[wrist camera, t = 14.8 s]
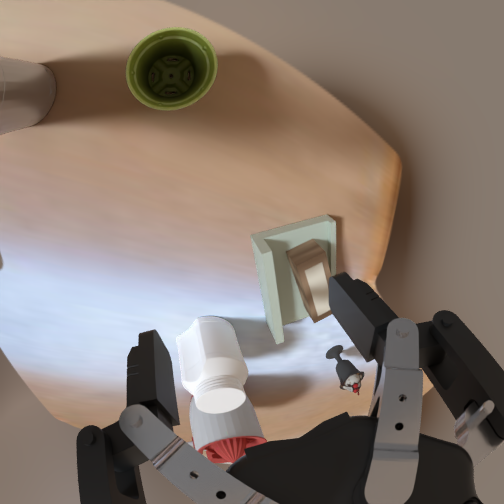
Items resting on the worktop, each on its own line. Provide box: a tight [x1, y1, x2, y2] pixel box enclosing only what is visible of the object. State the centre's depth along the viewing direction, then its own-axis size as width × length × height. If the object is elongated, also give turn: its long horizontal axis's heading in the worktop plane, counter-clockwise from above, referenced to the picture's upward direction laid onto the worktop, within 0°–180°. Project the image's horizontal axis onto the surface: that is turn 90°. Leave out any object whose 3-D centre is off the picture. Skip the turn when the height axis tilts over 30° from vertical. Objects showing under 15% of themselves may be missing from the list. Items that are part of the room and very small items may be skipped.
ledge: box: [250, 215, 336, 344], centre depth 49 cm, size 20×14×6 cm
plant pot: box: [126, 27, 218, 111], centre depth 27 cm, size 9×9×9 cm
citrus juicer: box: [187, 395, 267, 463], centre depth 56 cm, size 16×17×20 cm
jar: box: [176, 316, 248, 414], centre depth 47 cm, size 12×10×15 cm
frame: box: [286, 239, 332, 323], centre depth 48 cm, size 14×5×5 cm, turn 20°
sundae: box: [326, 345, 364, 395], centre depth 62 cm, size 7×7×15 cm
